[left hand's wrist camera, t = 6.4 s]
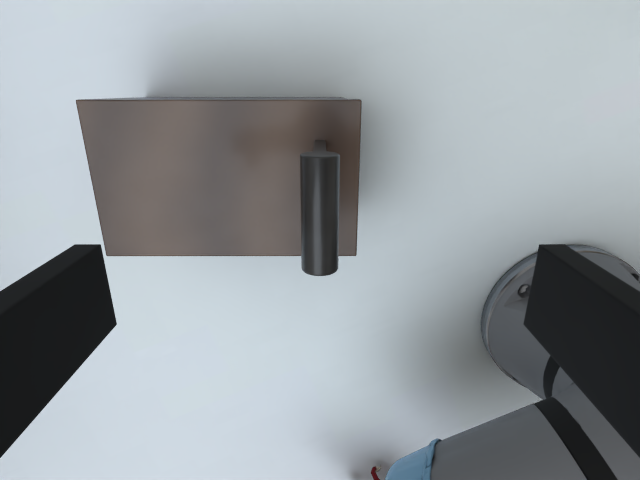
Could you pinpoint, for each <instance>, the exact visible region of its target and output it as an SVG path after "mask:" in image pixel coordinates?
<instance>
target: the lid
mask: <svg viewBox="0 0 640 480" xmlns="http://www.w3.org/2000/svg"><path fill="white" fill-rule="evenodd" d="M361 102H362V101H361V100H359V99H85V100H76V104H77V109H78V114H79V119H80V124H81V129H82V134H83V139H84V144H85V149H86V154H87V159H88V164H89V170H90V175H91V180H92V185H93V190H94V195H95V200H96V205H97V210H98V215H99V220H100V225H101V230H102V235H103V240H104V245H105V250H106V255H107V256H301V258H302V270H303V271H304V272H305V273H307V274H309V275H314V276H326V275H330V274H333V273H335V272H336V271H337V269H338V256H356V251H357V221H358V191H359V162H360V132H361Z"/></svg>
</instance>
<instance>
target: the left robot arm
mask: <svg viewBox="0 0 640 480" xmlns="http://www.w3.org/2000/svg"><path fill="white" fill-rule="evenodd" d="M116 325H117V323H116V318H115V313H114V308H113V303H112V298H111V293H110V289H109V284H108V279H107V274H106V269H105V264H104V259H103V254H102V249H101V245H74V246H72V247H70V248H69V249H67V250H66V251H64V252H62V253H61V254H59V255H58V256H56V257H54V258H53V259H51V260H50V261H48V262H46V263H45V264H43V265H42V266H40V267H38V268H37V269H35V270H34V271H32V272H30V273H29V274H27V275H26V276H24V277H22V278H21V279H19V280H18V281H16V282H14V283H13V284H11V285H10V286H8V287H7V288H5V289H3V290H2V291H0V458H1V457H2V455H3V454H4V453H5V452H6V451H7V450H8V449H9V447H10V446H11V445H12V444H13V443H14V442H15V440H16V439H17V438H18V437H19V436H20V435H21V434H22V432H23V431H24V430H25V429H26V428H27V427H28V426H29V424H30V423H31V422H32V421H33V420H34V419H35V418H36V416H37V415H38V414H39V413H40V412H41V411H42V409H43V408H44V407H45V406H46V405H47V404H48V403H49V401H50V400H51V399H52V398H53V397H54V396H55V395H56V393H57V392H58V391H59V390H60V389H61V388H62V387H63V385H64V384H65V383H66V382H67V381H68V380H69V379H70V377H71V376H72V375H73V374H74V373H75V372H76V370H77V369H78V368H79V367H80V366H81V365H82V364H83V362H84V361H85V360H86V359H87V358H88V357H89V356H90V354H91V353H92V352H93V351H94V350H95V349H96V348H97V346H98V345H99V344H100V343H101V342H102V341H103V339H104V338H105V337H106V336H107V335H108V334H109V333H110V331H111V330H112V329H113V328H114V327H115V326H116ZM481 331H482V337H483V341H484V344H485V346H486V348H487V350H488V352H489V353H490V355H491V357H492V358H493V360H494V361H495V363H496V364H497V365H498V367H499V368H500V369H501V370H502V371H503V372H504V373H505V374H506V375H507V376H509V377H510V378H511V379H513V380H514V381H516V382H517V383H519V384H521V385H522V386H524V387H527V388H528V389H529V390H531V391H532V392H533V393H535V394H536V395H537V396H539V397H540V398H541V399H543V400H542V401H540V402H537V403H535V404H531V405H528V406H526V407H524V408H521V409H519V410H516V411H514V412H511V413H509V414H506V415H504V416H501V417H499V418H496V419H494V420H491V421H489V422H486V423H484V424H481V425H479V426H476V427H474V428H471V429H469V430H467V431H464V432H462V433H459V434H457V435H454V436H452V437H449V438H447V439H444V440H441V439H438V438H437V439H435V440H433V441H431V443H430V444H429V445H428V446H426V447H424V448H422V449H420V450H418V451H416V452H414V453H412V454H409V455H407V456H405V457H403V458H401V459H399V460H398V461H396V462H395V463H394V464H393V465H392V466H391V468H390V469H389V471H388V473H387V475H386V478H385V480H640V275H639V274H638V273H637V271H636V270H635V269H634V268H633V267H631V266H630V265H629V264H627V263H626V262H624V261H623V260H621V259H619V258H617V257H616V256H614V255H612V254H610V253H608V252H606V251H604V250H601V249H598V248H595V247H590V246H584V245H539V249H538V253H536V254H533V255H531V256H529V257H528V258H526V259H524V260H522V261H521V262H519V263H518V264H516V265H515V266H514V267H512V268H511V269H510V270H509V271H508V272H507V273H506V274H505V275H504V276H503V277H502V278H501V279H500V280H499V281H498V282H497V284H496V285H495V286H494V288H493V289H492V291H491V293H490V295H489V296H488V298H487V301H486V303H485V306H484V309H483V313H482V320H481Z"/></svg>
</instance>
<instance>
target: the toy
mask: <svg viewBox="0 0 640 480" xmlns="http://www.w3.org/2000/svg"><path fill="white" fill-rule="evenodd" d="M379 469H381V465H380V467H377V466H375V467H373V468H372V470H371V474H372V476H373V478H374V480H380V479H379V478H378V476H377V474H376V472H378V471H379Z"/></svg>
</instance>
